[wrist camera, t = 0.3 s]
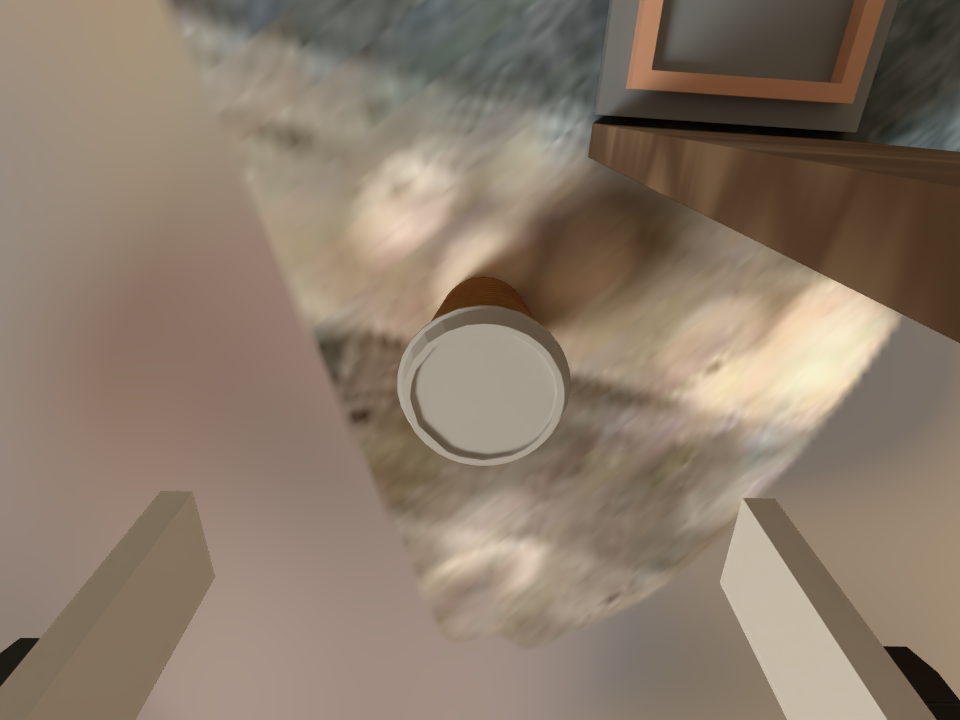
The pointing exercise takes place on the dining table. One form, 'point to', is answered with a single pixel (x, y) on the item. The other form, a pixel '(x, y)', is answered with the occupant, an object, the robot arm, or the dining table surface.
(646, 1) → the square coaster tray
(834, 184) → the brown wooden panel
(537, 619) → the dining table surface
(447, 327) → the disposable coffee cup
